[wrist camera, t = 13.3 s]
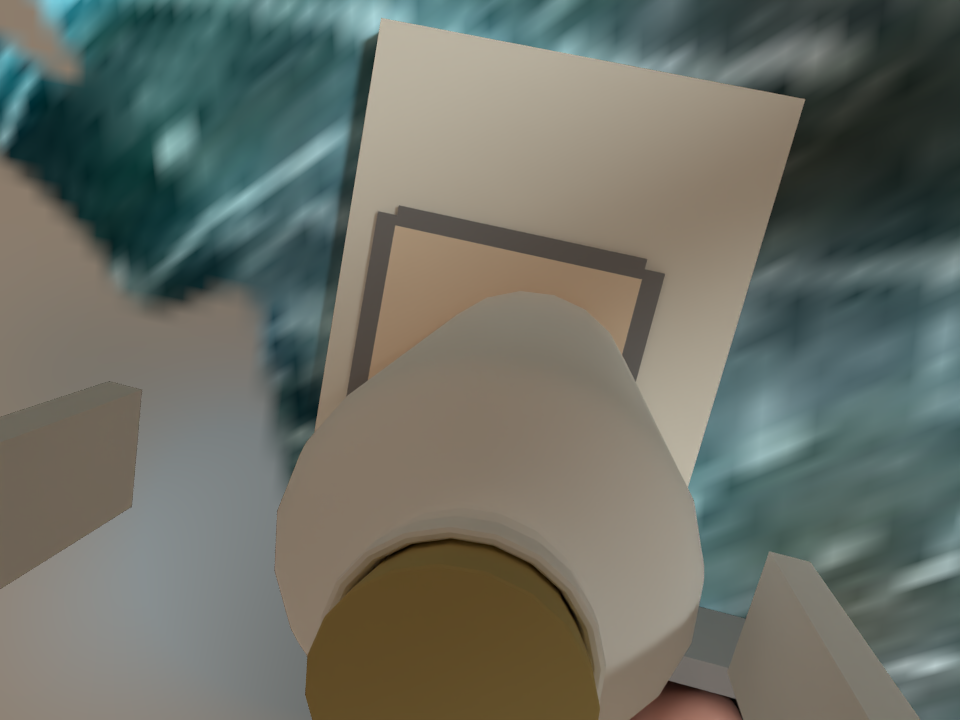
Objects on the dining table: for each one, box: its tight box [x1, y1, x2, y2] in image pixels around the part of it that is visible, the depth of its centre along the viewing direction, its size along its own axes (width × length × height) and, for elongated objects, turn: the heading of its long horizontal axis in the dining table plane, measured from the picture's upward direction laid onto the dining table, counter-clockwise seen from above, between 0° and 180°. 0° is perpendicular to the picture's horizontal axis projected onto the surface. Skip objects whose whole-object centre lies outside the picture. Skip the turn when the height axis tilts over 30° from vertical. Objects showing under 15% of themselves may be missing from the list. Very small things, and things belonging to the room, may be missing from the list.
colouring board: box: [314, 18, 805, 488], centre depth 26 cm, size 22×16×1 cm
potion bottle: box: [275, 291, 704, 720], centre depth 17 cm, size 8×8×18 cm
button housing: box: [668, 607, 746, 720], centre depth 27 cm, size 8×8×4 cm
